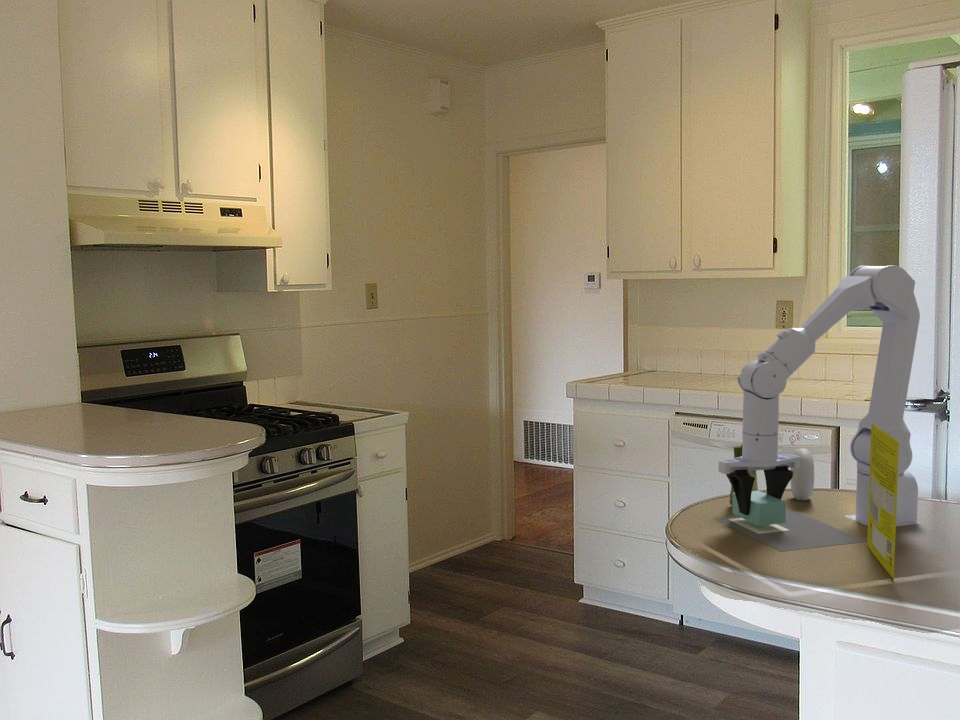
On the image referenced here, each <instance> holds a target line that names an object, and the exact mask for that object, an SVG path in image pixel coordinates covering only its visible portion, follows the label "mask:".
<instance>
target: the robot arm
mask: <svg viewBox="0 0 960 720" xmlns="http://www.w3.org/2000/svg"><path fill="white" fill-rule="evenodd" d="M915 286H916V280H914V279H913V278H912V276H911V275H910V274H909V272H907V271H906V270H905V269H904V268H902V267H900V266H898V265H869V264H868V265H866V264H865V265H860V266H857V267H856V268H854V269H852V271H850V273H849V275H847V276H845V277H844V278H842V279H841V280H840V282H839V284H837V287H836V288H835V289H834V290H833V291H832V293H830V295H829V296H828V297H827V298H826V299H825V300H824V301H823V302H822V303H821V304H820V306H818V307H817V309H816V310H815V311H813V313H812V314H811V315H810V316H809V317H808V318H807V320H806V321H804V322H803V324H802V325H801V326H800V327H790V328H788V329H786V330H783V329H782V330H780V331H779V332H778V334H776V337H778V338H777V339H776V340H774V342H773V343H772V344H770V346H769V347H768V348H766V350H765V351H764V352H762V351H760V352H759V353H758V354H757V355H756V357H757V360H753V361H749V362H747V363H746V364H744V366H743V367H742V368H741V370H740V372H741V373H740V374H739V376H737V379H736V380H737V383H738V386H739V388H740V389H741V390H742V392H743V406H742V440H741V441H742V443H741V444H742V457H737V458H734V457H733V458H727V459H723V460H721V459H720V460H718V473H721V474H723V475H725V476H726V478H727V480H728V481H729V483H730V484H731V485H732V487H733V490H734V492H735V495H736V499H737V503H738V507H739V512H740V513H742V514H744V515H749V512H750V506H751V493H752V487H753V483H754V480H755V478H754V477H752V476H750V475H749V473H748V471H755V470H756V471H763V472H764V473H763V474H764V479H765V486H766V487H765V488H766V494H768V495H770V496H773V497H775V498H778V499H780V500H782V498H783V496H784V493H785V490H786V488H787V486H788V485H789V483H790V482H791V479H792V477H793V471H791V467H793V468H800V457H799V456H796V455H793V454H779V413H780V412H779V411H780V409H779V408H780V407H779V403H780V394H782V393H783V392H784V391H785V389H786V387H787V381H788V379H789V378H790V377H791V376H792V375H793V374H794V372H796V371H797V370H798V369H799V368H800V367H802V365H803V364H804V363H805V362H806V361H807V360H808V359H809V358H810V357H812V356H813V354H815V352H816V342H817V340H819V339H820V338H821V337H822V336H823V335H824V334H825V333H827V332H828V331H829V330H830V329H831V328H832V327H834V326H835V325H837V324H838V322H840V321H841V320H842V319H843V318H844V317H846V315H848V314H849V313H850V312H851V311H852V310H858V309H864V308H869V309H870V310H871V311H872V312H873V313H874V315H876V316H877V318H878V319H879V320H880V321H881V323H882V327H881V335H880V340H879V341H880V342H879V348H878V353H877V359H876V363H875V364H876V365H875V369H874V370H875V371H874V377H873V384H872V389H871V396H870V401H869V408H868V413H867V414H866V415H864V417H863V418H862V419H861V420H860V421H859V423H858V429H857V431H856V433H855V434H854V436H853V437H852V439H851V442H850V445H849V449H850V454H851V456H852V458H853V459H854V460H855V461H856V491H855V492H856V493H855V494H856V498H855V514H849V515H848V514H847V515H844V517H845V518H847V519H849V520H853V521H855V522H858V523H860V524H863V525H864V526H867V527H868V506H869V477H870V446H871V424H873V425H875V426H877V427H878V428H880V429H881V430H882V431H884V432H885V433H887V434H888V435H890V436H891V437H892V438H894V439H895V440H896V441H898V442H899V455H898V483H897V510H896V527H901V526H909V525H910V526H911V525H919V524H920V525H921V522H919V521H918V505H919V503H918V502H919V486H918V482H917V480H916V477H915V476H914V475H913V474H912V473H911V472H909V471H907V470H908V469H909V467H910V465H911V464H912V461H913V449H912V448H911V442H910V441H911V434H912V433H911V431H910V429H909V427H908V426H907V424H906V422H905V421H904V416H905V415H904V414H905V409H906V408H905V407H906V404H907V398H908V391H909V385H910V380H911V372H912V367H913V362H914V354H915V349H916V342H917V337H918V331H919V327H920V326H919V325H920V319H921V315H920V314H921V313H920V310H919V309H920V308H919V306H918V303H917V299H916V296H915V293H914V292H915ZM789 468H790V469H789ZM731 485H730V486H731Z"/></svg>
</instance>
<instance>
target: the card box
mask: <svg viewBox="0 0 960 720" xmlns="http://www.w3.org/2000/svg"><path fill="white" fill-rule="evenodd" d="M731 507H732V509H731V510H732V513H731V514H733V515H735V516H736V517H738V516H739V517H741V518H743V519H745V520H748V521H750V522H752V523H754V524H756V525H758V526H763V525H772V524H781V523H785V517H786V512H787V511H786V510H787V508H786V507H787V502H786V501H785V500H783V499H781V500H780V499H778V498H775V497H773V496H770V495H768V494H767V493H766V492H763V491H760V490H758V491H752V493H751V506H750V512H749V515H744V514H742V513H740V512H739V507H738V503H737V499H736V495H735V493H733V501H732V505H731Z"/></svg>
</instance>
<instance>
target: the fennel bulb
mask: <svg viewBox="0 0 960 720" xmlns="http://www.w3.org/2000/svg"><path fill="white" fill-rule="evenodd" d="M737 457H742V443H741V444H740V445H737V446H733V458H737ZM748 473H749V475H750V476H752V477H754V478H755V480H754V483H753V487H752V491H759V488H758V487H759V486H758V478H757V476H758V475H757V470H755V471H748ZM730 488H731V489H730V492H729V504H730V505H731V506H732V501H733V493H735V492H734V490H733V487H732V485H730Z"/></svg>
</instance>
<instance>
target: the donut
mask: <svg viewBox="0 0 960 720" xmlns="http://www.w3.org/2000/svg"><path fill="white" fill-rule="evenodd" d="M792 455H796V456H799V457H800V468H793V467H790V470H791V471H793V477H792V479H791V480H790V490H791V491H790V492H791V494H792V495H793V498H794V499H795V500H797V501H802V502H803V501H808V500H809V499H811V497H812V495H813V493H814V489H815V462H814V457H813V454H812V453H811V451H810V450H809V449H807V448H804V447H801V448H797V449H796V450H794V452H793V454H792Z"/></svg>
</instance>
